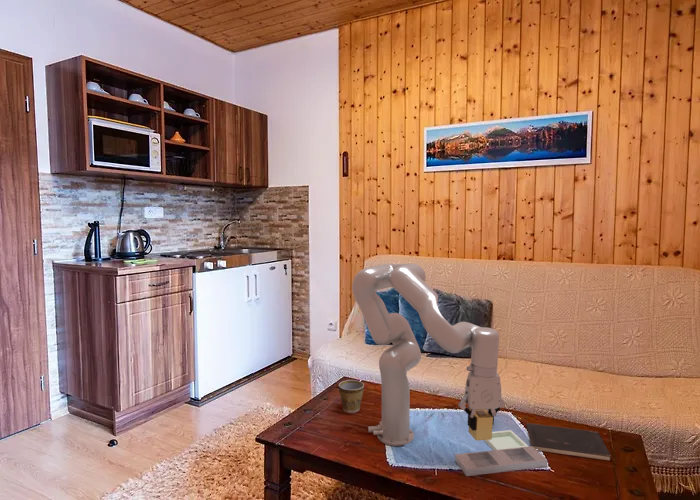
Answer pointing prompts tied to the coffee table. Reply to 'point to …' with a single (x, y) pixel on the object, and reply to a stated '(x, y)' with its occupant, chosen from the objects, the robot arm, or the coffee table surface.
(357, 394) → the ceramic cup
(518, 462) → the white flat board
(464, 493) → the coffee table surface
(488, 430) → the block
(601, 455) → the hardcover book
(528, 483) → the coffee table surface
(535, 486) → the coffee table surface
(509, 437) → the tray
